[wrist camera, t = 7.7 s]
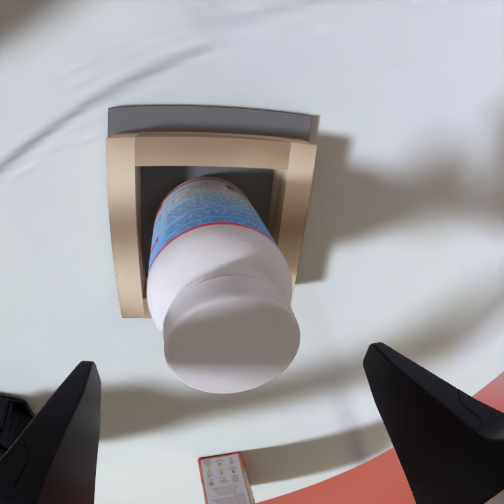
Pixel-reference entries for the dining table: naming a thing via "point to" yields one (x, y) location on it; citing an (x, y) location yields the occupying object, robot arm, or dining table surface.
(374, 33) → the dining table surface
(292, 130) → the mat
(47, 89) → the dining table surface
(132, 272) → the collar
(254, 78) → the dining table surface
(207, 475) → the cracker box
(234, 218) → the pill bottle
